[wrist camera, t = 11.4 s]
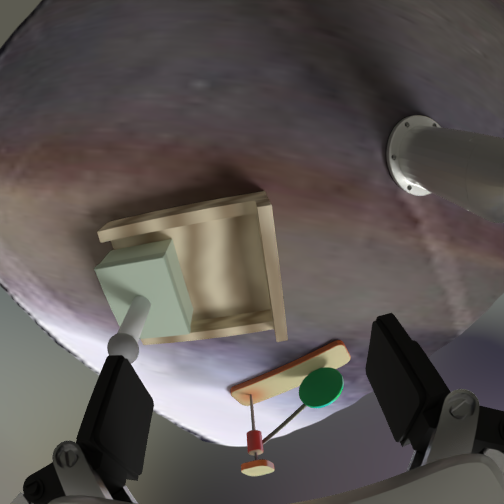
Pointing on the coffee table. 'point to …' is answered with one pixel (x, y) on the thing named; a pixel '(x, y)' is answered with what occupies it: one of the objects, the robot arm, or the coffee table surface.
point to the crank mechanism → (286, 378)
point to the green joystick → (144, 295)
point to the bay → (217, 262)
